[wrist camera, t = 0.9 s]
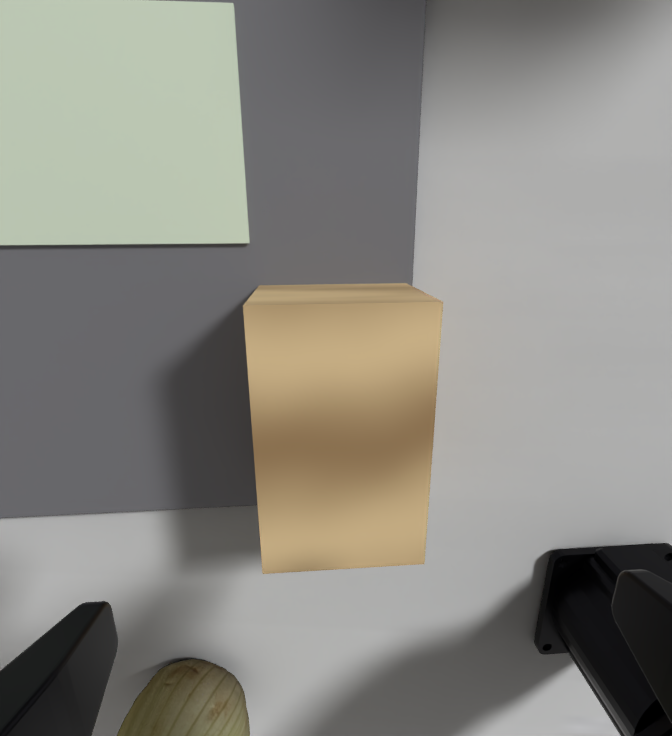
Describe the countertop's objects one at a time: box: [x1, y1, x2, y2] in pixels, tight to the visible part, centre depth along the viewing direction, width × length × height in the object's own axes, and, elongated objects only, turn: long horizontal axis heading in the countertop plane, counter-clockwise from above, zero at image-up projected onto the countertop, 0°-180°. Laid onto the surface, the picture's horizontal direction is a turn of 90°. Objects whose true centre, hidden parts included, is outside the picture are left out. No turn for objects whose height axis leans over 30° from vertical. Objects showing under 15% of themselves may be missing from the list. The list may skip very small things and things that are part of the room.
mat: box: [0, 0, 426, 518], centre depth 15 cm, size 20×18×1 cm
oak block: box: [243, 283, 443, 574], centre depth 15 cm, size 9×6×4 cm, turn 1°
